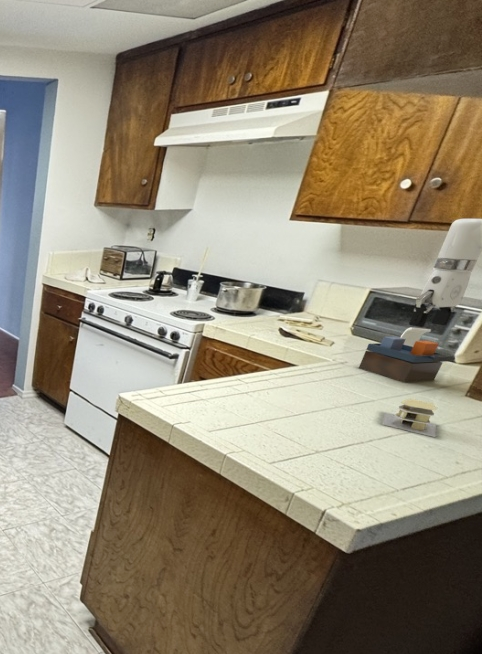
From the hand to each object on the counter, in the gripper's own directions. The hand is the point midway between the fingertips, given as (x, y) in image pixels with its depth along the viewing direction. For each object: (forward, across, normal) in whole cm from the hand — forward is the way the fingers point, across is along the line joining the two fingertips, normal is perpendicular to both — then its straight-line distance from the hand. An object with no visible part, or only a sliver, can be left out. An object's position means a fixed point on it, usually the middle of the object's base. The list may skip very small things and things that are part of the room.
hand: (427, 325), depth 137 cm
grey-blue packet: (+10, +3, +7) cm, 13 cm away
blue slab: (+11, +5, +3) cm, 12 cm away
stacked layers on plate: (+18, -39, -23) cm, 48 cm away
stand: (+17, +5, +5) cm, 19 cm away
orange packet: (+11, +6, +1) cm, 12 cm away
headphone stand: (+18, +26, +14) cm, 35 cm away
